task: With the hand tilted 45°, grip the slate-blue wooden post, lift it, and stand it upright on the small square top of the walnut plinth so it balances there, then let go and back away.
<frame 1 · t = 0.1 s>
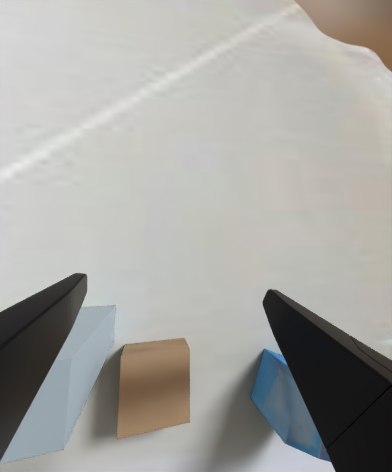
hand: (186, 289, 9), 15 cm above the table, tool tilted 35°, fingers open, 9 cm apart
walnut plinth: (155, 373, 21), on the table
slate-blue post: (95, 324, 20), on the table
perfume bottle: (275, 378, 25), on the table
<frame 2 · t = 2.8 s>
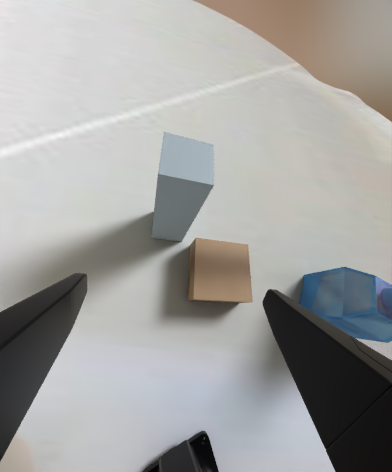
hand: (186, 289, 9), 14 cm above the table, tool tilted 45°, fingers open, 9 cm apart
walnut plinth: (214, 273, 24), on the table
slate-blue post: (168, 226, 25), on the table
perfume bottle: (317, 303, 27), on the table
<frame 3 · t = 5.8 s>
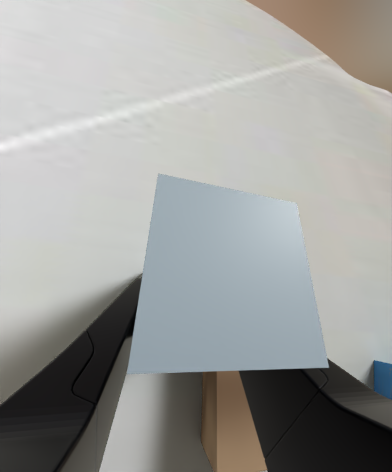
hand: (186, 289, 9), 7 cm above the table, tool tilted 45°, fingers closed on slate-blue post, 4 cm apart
walnut plinth: (243, 377, 15), on the table
slate-blue post: (168, 295, 15), on the table, touching gripper
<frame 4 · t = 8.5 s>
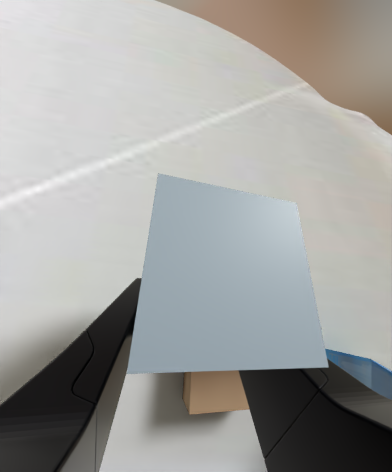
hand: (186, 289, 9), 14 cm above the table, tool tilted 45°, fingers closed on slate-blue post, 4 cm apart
walnut plinth: (215, 357, 20), on the table
slate-blue post: (168, 295, 15), point 6 cm above the table, touching gripper
perfume bottle: (334, 383, 23), on the table
when the fingers open (11 cm above the table, at t = 11.6 s): slate-blue post stays where it is, resting on walnut plinth.
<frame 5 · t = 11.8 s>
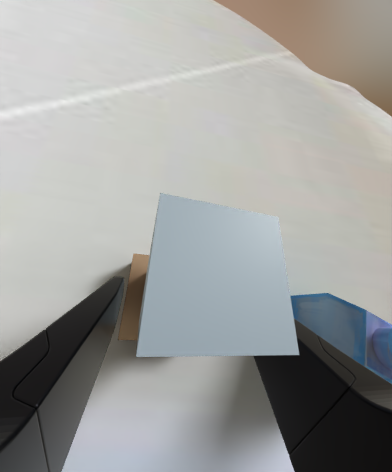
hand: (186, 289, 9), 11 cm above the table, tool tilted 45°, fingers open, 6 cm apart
walnut plinth: (163, 297, 19), on the table
slate-blue post: (166, 297, 16), point 3 cm above the table, touching walnut plinth
perfume bottle: (297, 333, 22), on the table
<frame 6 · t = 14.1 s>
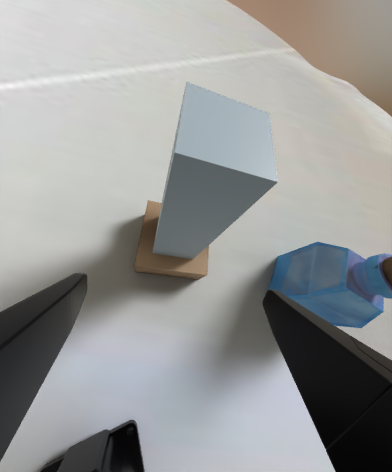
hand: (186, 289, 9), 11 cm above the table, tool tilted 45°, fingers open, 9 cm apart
walnut plinth: (172, 245, 21), on the table
slate-blue post: (175, 237, 18), point 3 cm above the table, touching walnut plinth
perfume bottle: (290, 288, 24), on the table
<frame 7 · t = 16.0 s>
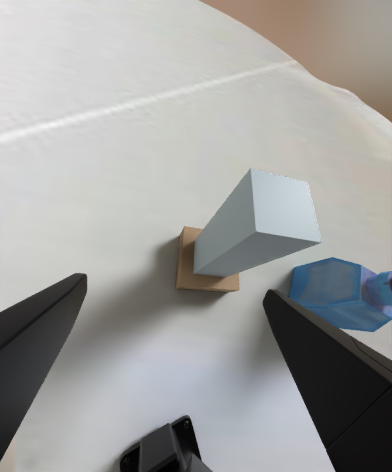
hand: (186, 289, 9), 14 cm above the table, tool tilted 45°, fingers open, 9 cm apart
walnut plinth: (203, 263, 24), on the table
slate-blue post: (210, 258, 21), point 3 cm above the table, touching walnut plinth
perfume bottle: (307, 295, 27), on the table
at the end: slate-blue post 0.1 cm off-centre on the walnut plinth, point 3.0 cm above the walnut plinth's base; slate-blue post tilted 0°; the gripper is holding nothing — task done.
